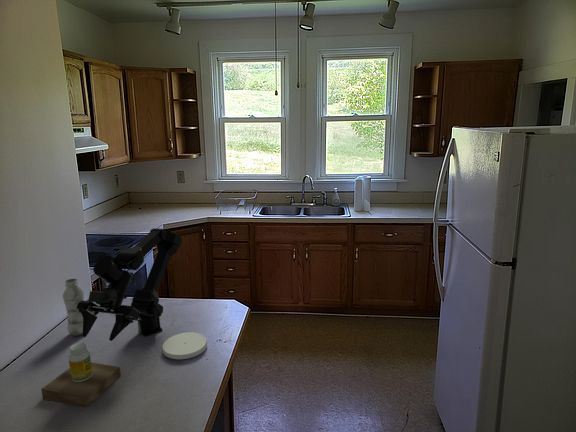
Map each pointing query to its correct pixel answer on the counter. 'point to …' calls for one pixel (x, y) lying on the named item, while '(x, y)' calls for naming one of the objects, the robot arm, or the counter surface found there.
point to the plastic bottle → (73, 307)
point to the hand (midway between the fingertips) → (97, 338)
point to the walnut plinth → (81, 386)
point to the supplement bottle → (80, 363)
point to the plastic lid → (184, 345)
